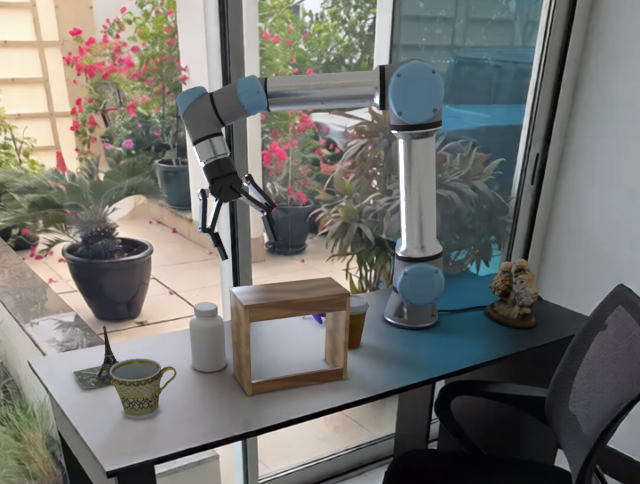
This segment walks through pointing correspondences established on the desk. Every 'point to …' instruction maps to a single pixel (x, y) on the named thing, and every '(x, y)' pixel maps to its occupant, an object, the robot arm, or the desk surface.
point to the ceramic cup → (139, 386)
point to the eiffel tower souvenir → (98, 369)
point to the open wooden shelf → (285, 304)
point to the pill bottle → (207, 338)
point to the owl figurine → (513, 295)
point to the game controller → (318, 317)
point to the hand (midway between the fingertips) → (250, 250)
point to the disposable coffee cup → (356, 320)
